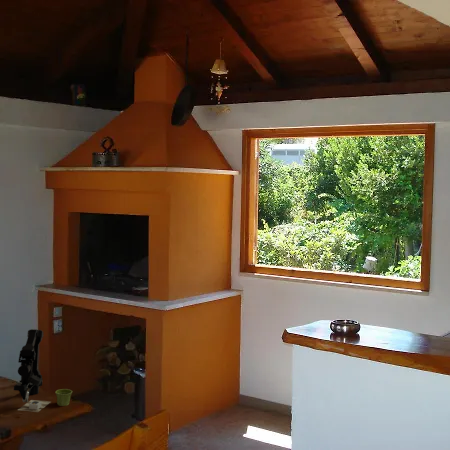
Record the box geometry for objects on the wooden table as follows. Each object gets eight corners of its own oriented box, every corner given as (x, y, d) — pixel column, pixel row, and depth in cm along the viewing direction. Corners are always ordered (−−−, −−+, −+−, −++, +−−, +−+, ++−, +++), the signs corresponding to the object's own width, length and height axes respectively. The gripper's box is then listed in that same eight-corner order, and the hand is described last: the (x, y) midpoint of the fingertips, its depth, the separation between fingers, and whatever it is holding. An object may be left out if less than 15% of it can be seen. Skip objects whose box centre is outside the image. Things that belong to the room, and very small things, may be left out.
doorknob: (23, 400, 345) (24, 386, 345) (29, 400, 345) (30, 387, 345) (20, 402, 342) (21, 388, 342) (27, 402, 341) (27, 389, 341)
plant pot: (75, 405, 354) (75, 390, 354) (64, 410, 346) (65, 395, 345) (62, 402, 358) (62, 388, 358) (51, 407, 350) (51, 392, 349)
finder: (32, 405, 345) (33, 400, 345) (41, 406, 345) (41, 401, 344) (28, 408, 340) (29, 403, 340) (37, 409, 340) (37, 403, 339)
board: (31, 402, 356) (31, 399, 356) (51, 404, 355) (51, 401, 355) (17, 412, 338) (17, 409, 338) (38, 414, 337) (38, 411, 337)
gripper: (33, 376, 333) (32, 405, 333) (47, 367, 351) (46, 394, 352) (13, 375, 334) (12, 403, 334) (28, 366, 352) (27, 393, 353)
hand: (25, 398), depth 343 cm, fingers closed on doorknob, 3 cm apart
